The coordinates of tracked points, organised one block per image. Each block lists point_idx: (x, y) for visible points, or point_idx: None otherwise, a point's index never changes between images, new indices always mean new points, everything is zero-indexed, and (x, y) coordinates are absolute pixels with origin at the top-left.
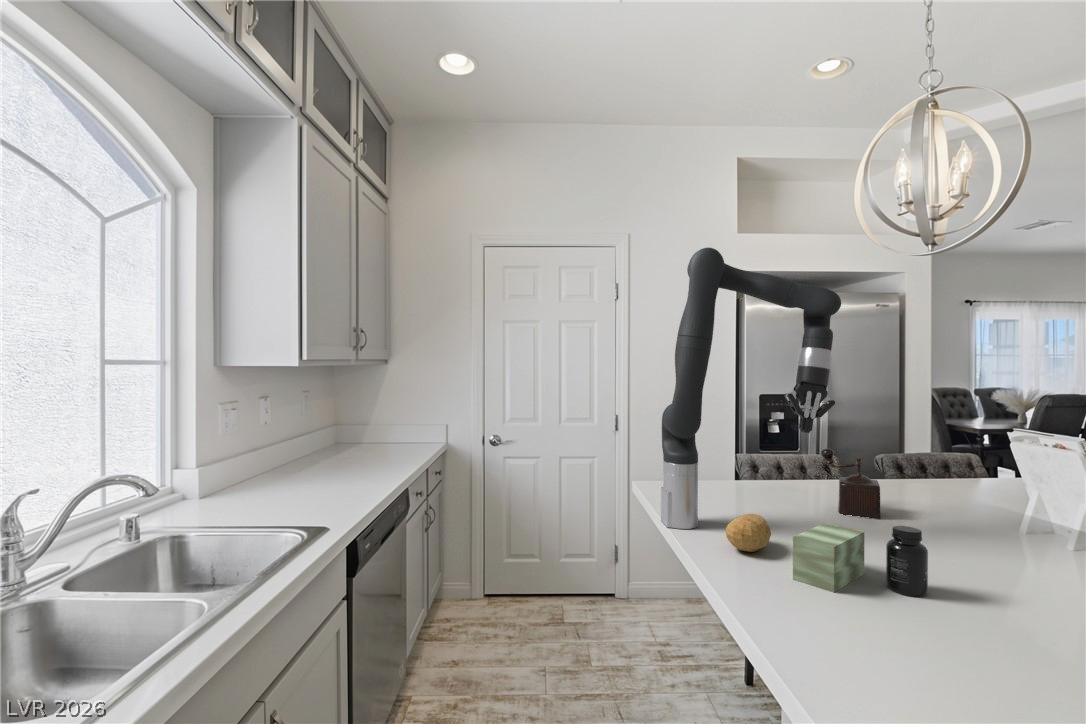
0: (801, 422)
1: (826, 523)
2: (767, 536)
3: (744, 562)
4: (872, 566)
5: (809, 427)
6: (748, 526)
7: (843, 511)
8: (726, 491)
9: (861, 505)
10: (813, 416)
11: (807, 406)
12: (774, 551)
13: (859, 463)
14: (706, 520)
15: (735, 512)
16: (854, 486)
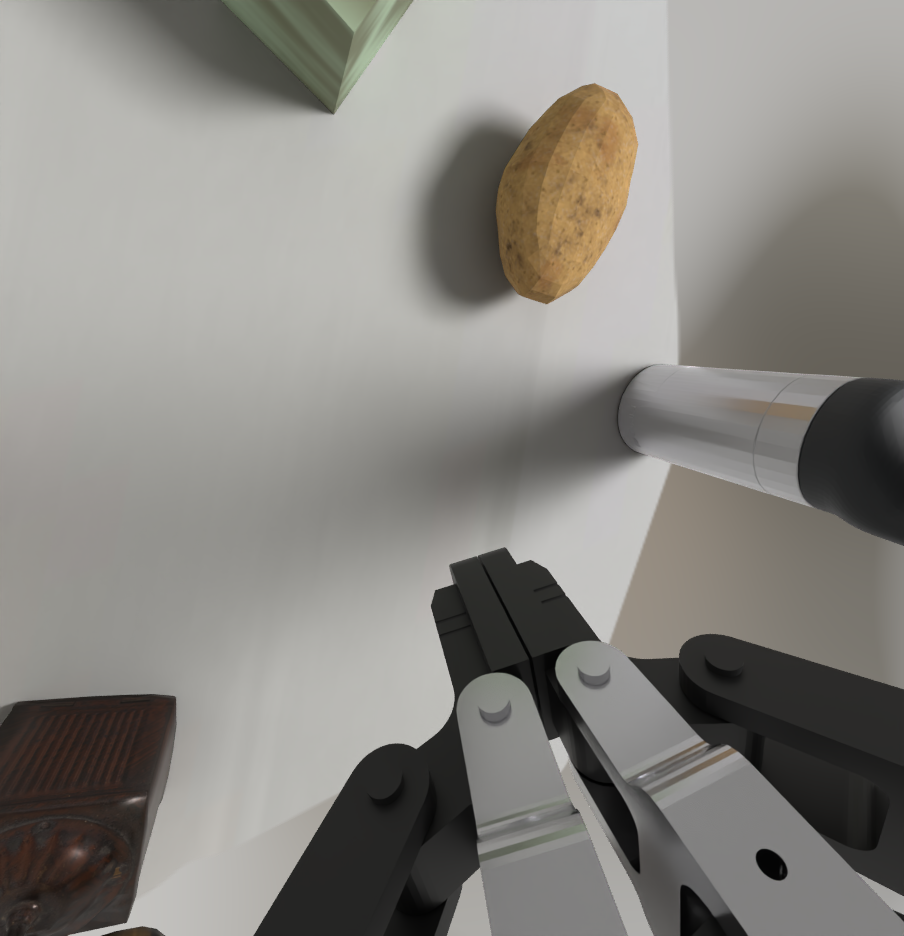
0: (575, 617)
1: (350, 22)
2: (518, 149)
3: (561, 91)
4: (169, 86)
5: (473, 587)
6: (605, 91)
7: (161, 704)
8: None
9: (78, 731)
10: (489, 699)
11: (722, 790)
12: (465, 211)
13: None
14: (588, 469)
15: None
16: (79, 798)
